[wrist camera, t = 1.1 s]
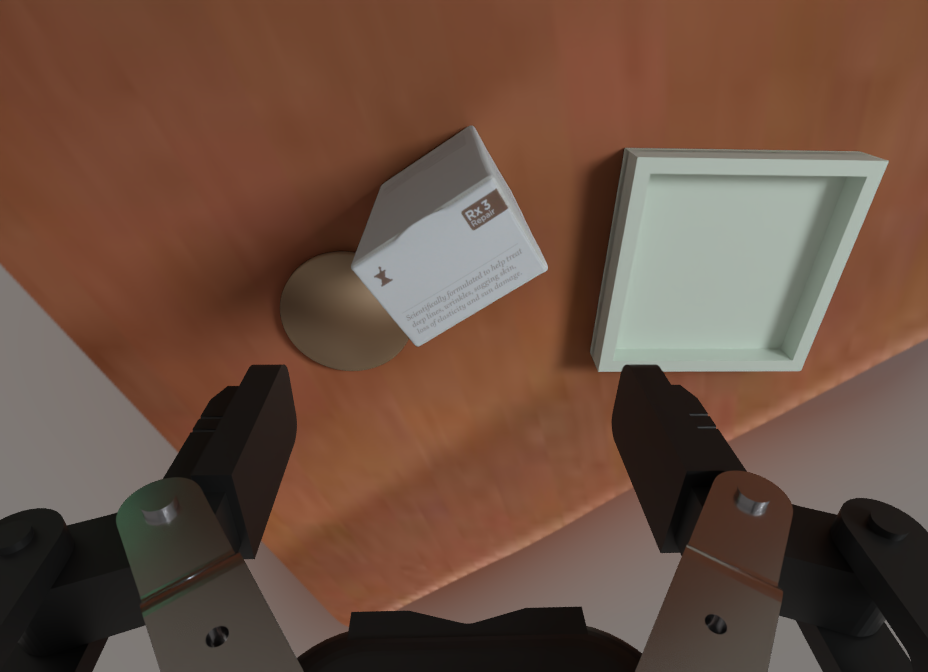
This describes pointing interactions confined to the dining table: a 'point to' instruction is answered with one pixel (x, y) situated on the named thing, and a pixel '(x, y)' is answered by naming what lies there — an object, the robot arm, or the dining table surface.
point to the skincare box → (445, 240)
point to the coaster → (338, 316)
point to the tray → (727, 255)
